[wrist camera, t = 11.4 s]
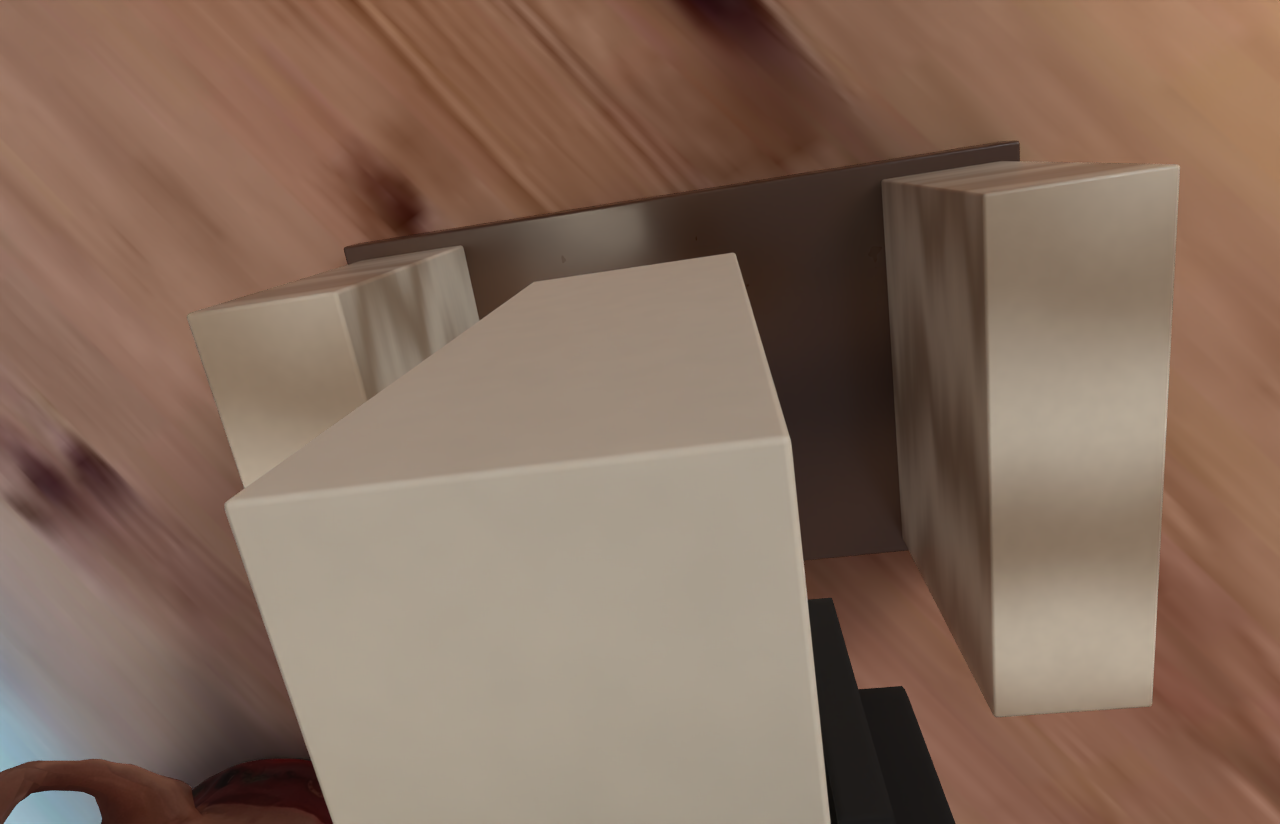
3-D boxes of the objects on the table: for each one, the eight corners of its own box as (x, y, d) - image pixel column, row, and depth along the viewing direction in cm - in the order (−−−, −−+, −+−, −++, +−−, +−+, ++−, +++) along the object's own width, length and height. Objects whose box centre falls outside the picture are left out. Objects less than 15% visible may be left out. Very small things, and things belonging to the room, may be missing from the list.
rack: (357, 243, 26) (154, 294, 17) (1005, 140, 24) (1213, 129, 14) (445, 580, 30) (322, 780, 20) (1010, 524, 27) (1175, 723, 18)
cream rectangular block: (531, 282, 13) (217, 504, 5) (735, 251, 13) (792, 435, 4) (639, 829, 17) (570, 1517, 8) (801, 820, 16) (904, 1537, 8)
